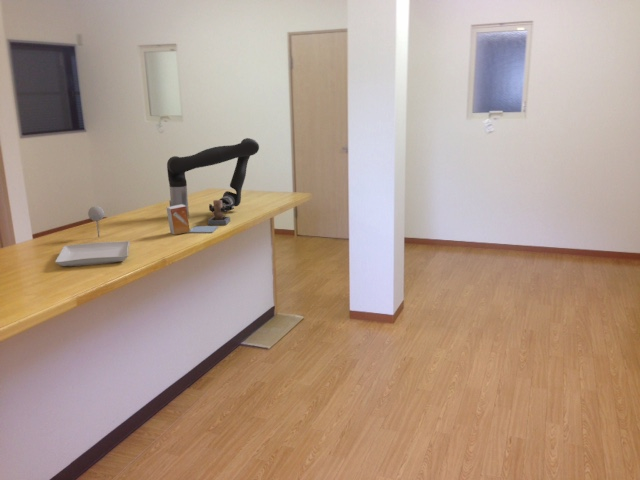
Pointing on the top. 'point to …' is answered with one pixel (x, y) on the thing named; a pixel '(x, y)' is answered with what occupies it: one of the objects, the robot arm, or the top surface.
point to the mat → (203, 229)
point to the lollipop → (96, 215)
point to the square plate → (93, 253)
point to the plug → (218, 210)
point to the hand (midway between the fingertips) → (217, 210)
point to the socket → (219, 221)
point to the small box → (178, 219)
